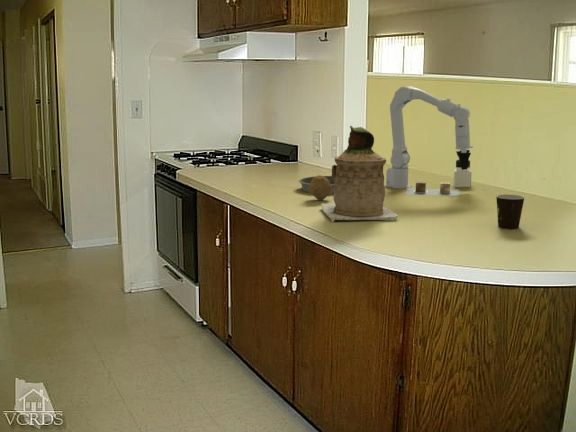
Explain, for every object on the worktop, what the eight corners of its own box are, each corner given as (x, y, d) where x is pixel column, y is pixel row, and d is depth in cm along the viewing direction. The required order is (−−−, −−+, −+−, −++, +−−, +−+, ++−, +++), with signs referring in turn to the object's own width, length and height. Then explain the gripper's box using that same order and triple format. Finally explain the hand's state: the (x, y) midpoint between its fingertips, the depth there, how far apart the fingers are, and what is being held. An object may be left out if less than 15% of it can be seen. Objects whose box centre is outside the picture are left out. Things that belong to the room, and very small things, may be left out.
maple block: (440, 193, 269) (440, 183, 268) (440, 191, 273) (440, 182, 272) (449, 193, 268) (450, 183, 267) (449, 191, 272) (450, 182, 271)
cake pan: (308, 184, 299) (308, 174, 298) (360, 186, 291) (360, 176, 290) (291, 193, 276) (290, 182, 275) (346, 196, 268) (346, 185, 267)
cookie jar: (400, 221, 221) (402, 127, 214) (328, 223, 219) (329, 128, 212) (384, 206, 245) (385, 122, 238) (319, 208, 243) (319, 123, 236)
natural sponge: (304, 199, 260) (303, 175, 258) (320, 196, 266) (320, 173, 264) (318, 202, 253) (318, 177, 251) (335, 200, 259) (335, 175, 256)
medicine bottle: (470, 187, 283) (472, 160, 281) (454, 187, 285) (455, 160, 282) (469, 185, 290) (470, 158, 287) (453, 184, 291) (454, 158, 289)
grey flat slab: (405, 195, 267) (405, 194, 266) (407, 189, 282) (407, 187, 282) (460, 197, 262) (460, 196, 262) (459, 190, 277) (459, 189, 277)
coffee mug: (499, 222, 216) (500, 193, 214) (525, 225, 212) (527, 195, 209) (488, 229, 207) (489, 199, 205) (515, 233, 202) (517, 201, 200)
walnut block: (415, 192, 271) (415, 183, 270) (415, 190, 275) (416, 181, 274) (425, 192, 270) (425, 183, 270) (425, 191, 274) (425, 181, 273)
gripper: (473, 136, 262) (474, 169, 264) (471, 134, 276) (472, 165, 278) (455, 137, 263) (457, 170, 266) (454, 135, 277) (455, 166, 280)
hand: (464, 168), depth 272 cm, fingers open, 7 cm apart
